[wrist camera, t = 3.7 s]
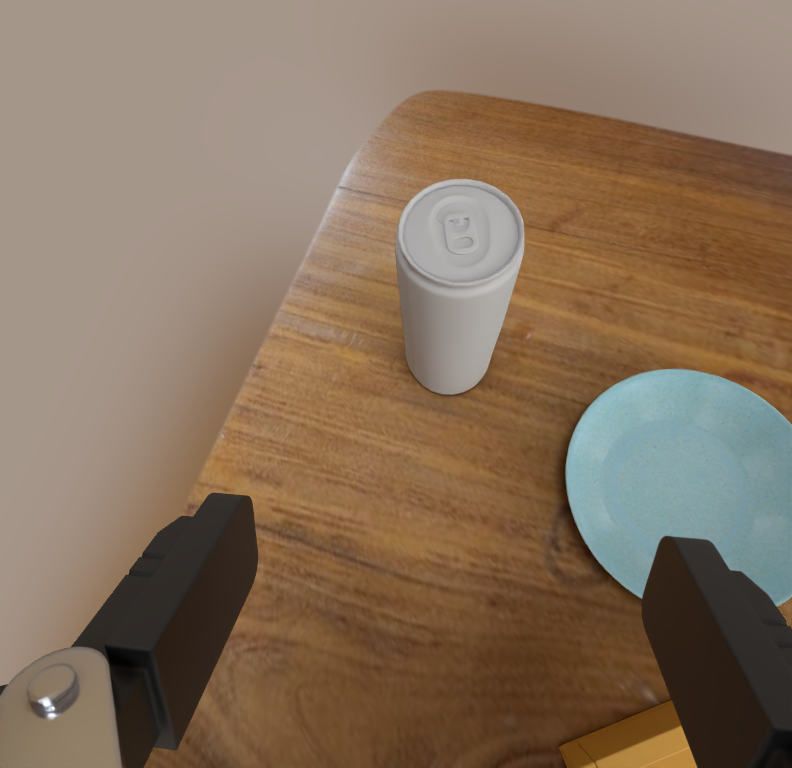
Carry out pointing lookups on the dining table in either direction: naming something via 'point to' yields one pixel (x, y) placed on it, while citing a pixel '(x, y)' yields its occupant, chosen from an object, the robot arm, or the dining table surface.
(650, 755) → the ochre tray
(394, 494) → the dining table surface
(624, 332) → the dining table surface
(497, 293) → the beverage can
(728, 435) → the saucer
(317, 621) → the dining table surface
